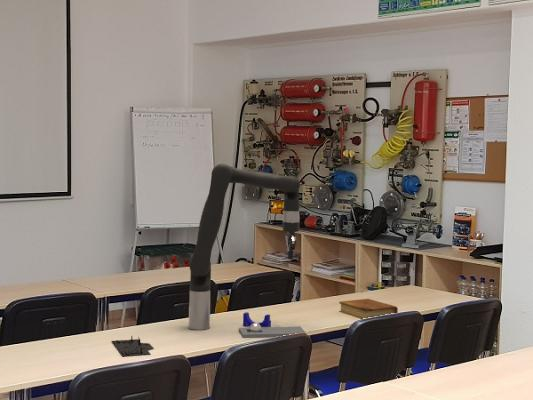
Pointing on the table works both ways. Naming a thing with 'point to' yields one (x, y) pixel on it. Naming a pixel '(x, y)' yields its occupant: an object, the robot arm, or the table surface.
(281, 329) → the pocket slab
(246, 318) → the cable clip
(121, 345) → the circuit board
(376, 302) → the diary
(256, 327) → the steel ball
